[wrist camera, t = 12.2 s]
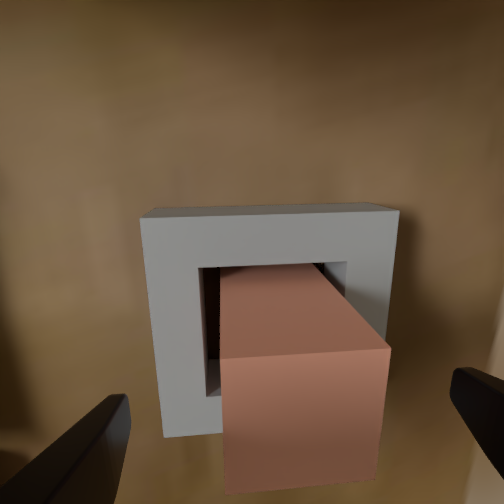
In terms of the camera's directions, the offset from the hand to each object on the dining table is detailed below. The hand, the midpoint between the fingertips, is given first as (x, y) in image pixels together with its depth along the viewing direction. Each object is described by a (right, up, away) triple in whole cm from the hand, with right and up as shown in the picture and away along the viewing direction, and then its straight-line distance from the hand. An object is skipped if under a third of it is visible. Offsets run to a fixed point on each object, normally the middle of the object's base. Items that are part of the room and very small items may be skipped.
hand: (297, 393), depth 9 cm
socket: (-1, +1, +6) cm, 6 cm away
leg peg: (-1, +1, +6) cm, 6 cm away
